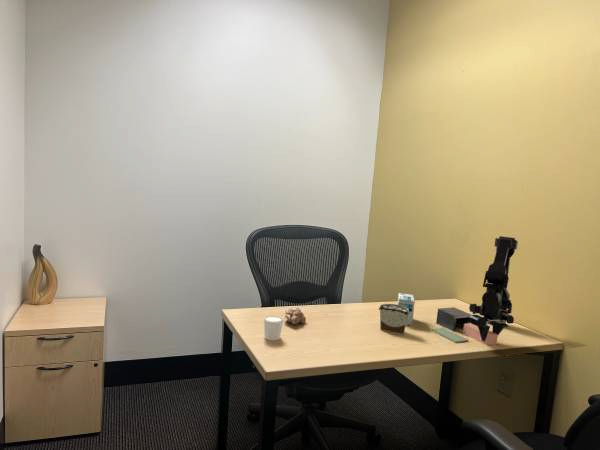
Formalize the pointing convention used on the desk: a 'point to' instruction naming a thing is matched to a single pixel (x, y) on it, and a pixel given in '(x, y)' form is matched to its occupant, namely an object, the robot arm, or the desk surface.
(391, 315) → the food container
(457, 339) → the green block
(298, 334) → the desk surface
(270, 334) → the white cylinder
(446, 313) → the dispenser
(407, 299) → the light bulb box
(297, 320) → the mineral specimen
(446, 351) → the desk surface
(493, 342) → the pink block
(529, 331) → the desk surface
